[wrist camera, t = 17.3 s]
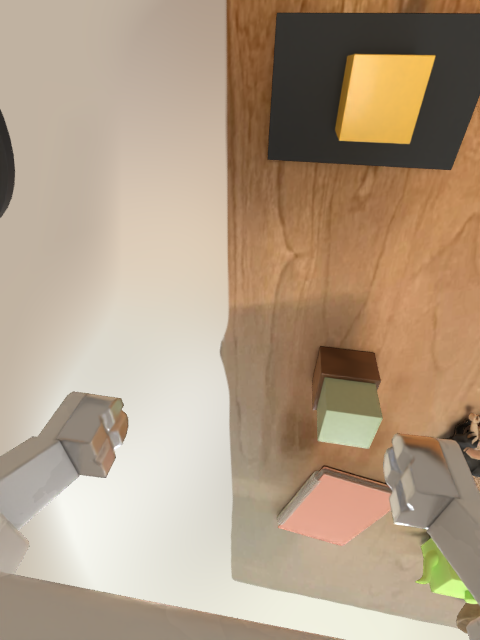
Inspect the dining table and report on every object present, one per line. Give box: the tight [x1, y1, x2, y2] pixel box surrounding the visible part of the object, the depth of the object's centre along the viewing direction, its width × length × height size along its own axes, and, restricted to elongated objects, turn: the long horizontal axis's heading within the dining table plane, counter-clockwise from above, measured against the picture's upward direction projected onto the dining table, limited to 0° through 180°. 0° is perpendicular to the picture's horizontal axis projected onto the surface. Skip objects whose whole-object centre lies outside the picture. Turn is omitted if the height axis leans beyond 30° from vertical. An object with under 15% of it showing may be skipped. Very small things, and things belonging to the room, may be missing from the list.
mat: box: [268, 13, 480, 170], centre depth 27 cm, size 16×10×1 cm, turn 89°
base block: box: [312, 347, 381, 410], centre depth 44 cm, size 7×7×5 cm
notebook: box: [277, 466, 393, 546], centre depth 69 cm, size 27×17×2 cm, turn 166°
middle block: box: [317, 377, 383, 449], centre depth 40 cm, size 6×6×5 cm
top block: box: [335, 54, 436, 144], centre depth 25 cm, size 5×5×5 cm
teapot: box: [415, 538, 478, 604], centre depth 65 cm, size 15×13×11 cm
